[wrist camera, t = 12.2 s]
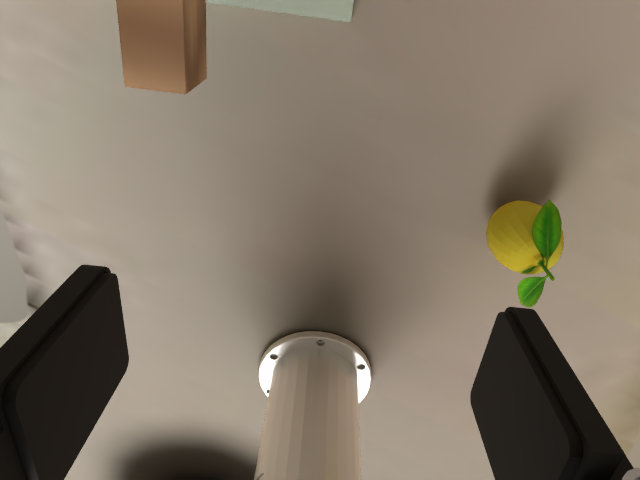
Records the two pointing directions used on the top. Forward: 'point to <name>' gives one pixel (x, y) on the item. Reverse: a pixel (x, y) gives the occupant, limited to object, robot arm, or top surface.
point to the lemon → (526, 243)
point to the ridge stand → (298, 7)
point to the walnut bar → (163, 43)
